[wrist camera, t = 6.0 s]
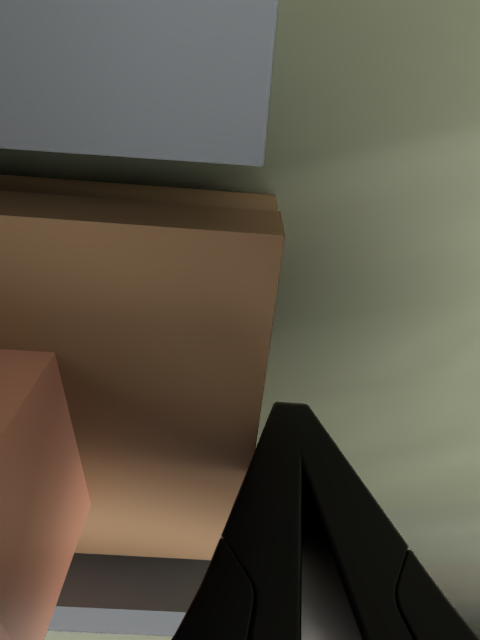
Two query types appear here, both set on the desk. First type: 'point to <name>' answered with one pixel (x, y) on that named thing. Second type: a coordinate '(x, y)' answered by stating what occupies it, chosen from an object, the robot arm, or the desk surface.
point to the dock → (137, 142)
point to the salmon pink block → (36, 492)
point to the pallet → (147, 344)
